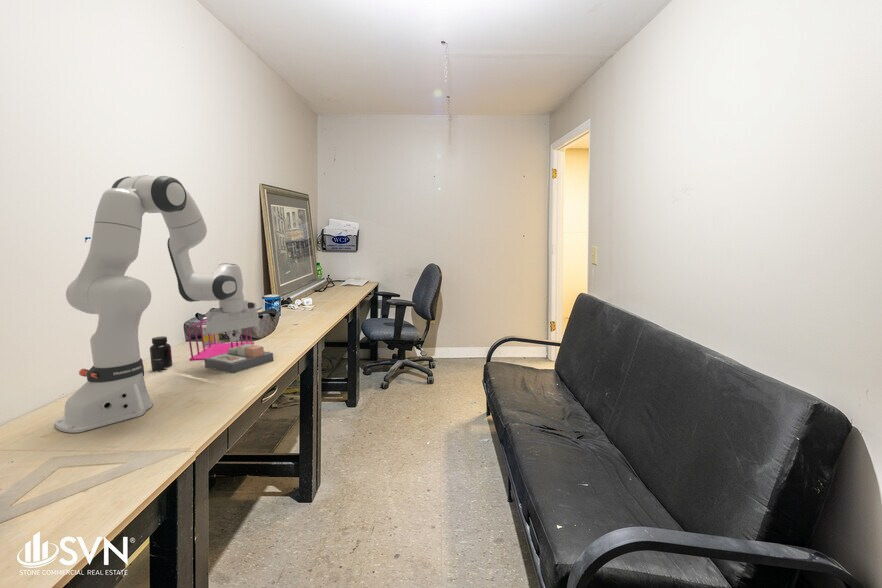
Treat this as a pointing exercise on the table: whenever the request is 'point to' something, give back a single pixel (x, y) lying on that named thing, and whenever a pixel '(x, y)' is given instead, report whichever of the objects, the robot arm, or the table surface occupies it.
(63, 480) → the table surface
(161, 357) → the supplement bottle
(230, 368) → the keypad base
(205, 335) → the supplement bottle
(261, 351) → the key terracotta
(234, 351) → the key sage
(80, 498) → the table surface
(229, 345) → the file sorter
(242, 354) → the block
